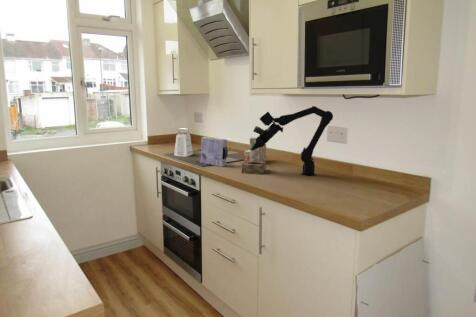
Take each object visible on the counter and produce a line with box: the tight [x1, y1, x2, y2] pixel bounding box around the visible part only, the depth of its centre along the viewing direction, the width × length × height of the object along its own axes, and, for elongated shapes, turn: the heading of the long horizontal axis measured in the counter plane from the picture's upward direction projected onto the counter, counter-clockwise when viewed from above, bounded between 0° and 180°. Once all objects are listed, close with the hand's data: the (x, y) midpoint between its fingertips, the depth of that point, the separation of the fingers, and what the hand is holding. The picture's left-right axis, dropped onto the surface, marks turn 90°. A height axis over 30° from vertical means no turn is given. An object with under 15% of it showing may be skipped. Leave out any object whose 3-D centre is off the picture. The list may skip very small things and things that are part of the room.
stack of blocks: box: [243, 143, 267, 163], centre depth 237 cm, size 21×6×12 cm, turn 151°
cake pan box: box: [200, 136, 229, 168], centre depth 228 cm, size 19×5×18 cm, turn 57°
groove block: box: [241, 161, 267, 175], centre depth 212 cm, size 13×12×5 cm
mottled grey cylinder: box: [249, 137, 259, 162], centre depth 210 cm, size 5×4×14 cm
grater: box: [173, 127, 194, 158], centre depth 261 cm, size 10×10×20 cm
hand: (252, 149), depth 210 cm, fingers closed on mottled grey cylinder, 4 cm apart
